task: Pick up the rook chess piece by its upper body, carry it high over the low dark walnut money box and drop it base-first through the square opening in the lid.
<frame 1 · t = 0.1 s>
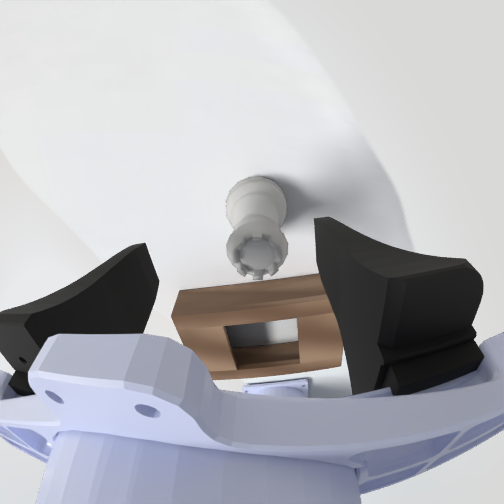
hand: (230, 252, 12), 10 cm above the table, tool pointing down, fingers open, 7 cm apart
walnut money box: (263, 319, 27), on the table
rook chess piece: (256, 202, 22), on the table
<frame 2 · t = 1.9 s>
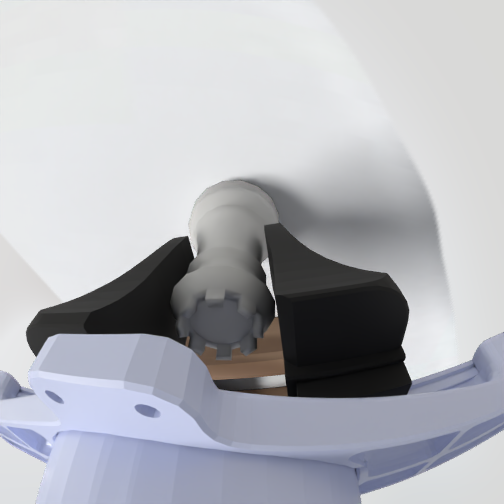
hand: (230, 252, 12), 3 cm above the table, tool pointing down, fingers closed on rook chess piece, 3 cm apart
walnut money box: (250, 363, 21), on the table
rook chess piece: (235, 217, 15), on the table, touching gripper
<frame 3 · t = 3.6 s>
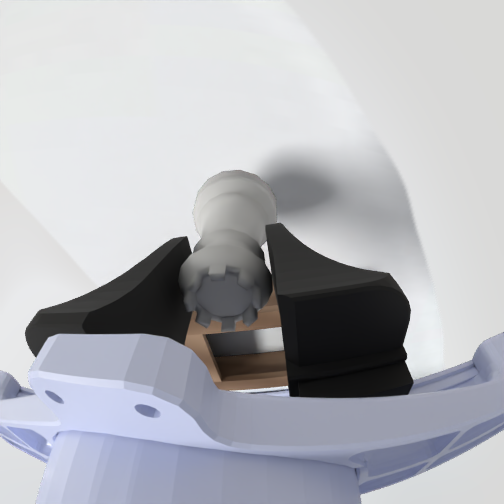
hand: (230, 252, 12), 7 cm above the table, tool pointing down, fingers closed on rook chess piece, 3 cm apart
walnut money box: (251, 326, 24), on the table
rook chess piece: (236, 205, 16), point 3 cm above the table, touching gripper
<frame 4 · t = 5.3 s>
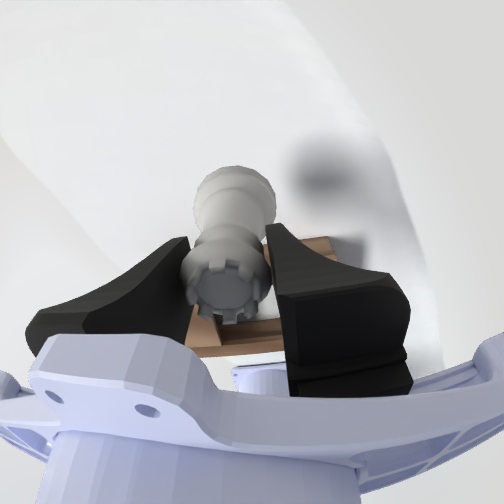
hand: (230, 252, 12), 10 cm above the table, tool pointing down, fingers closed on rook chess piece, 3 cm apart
walnut money box: (250, 291, 26), on the table
rook chess piece: (235, 200, 16), point 5 cm above the table, touching gripper
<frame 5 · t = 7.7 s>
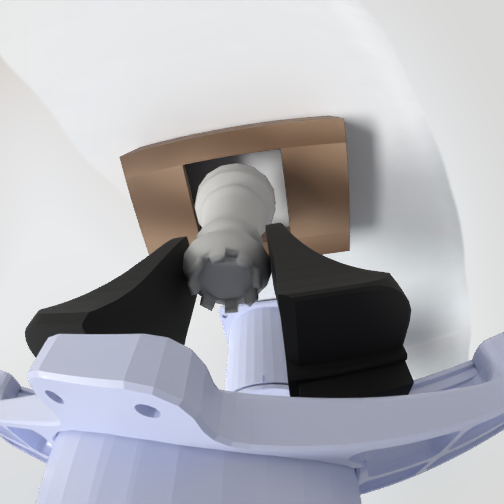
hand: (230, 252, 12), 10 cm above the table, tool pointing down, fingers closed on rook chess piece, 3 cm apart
walnut money box: (241, 186, 21), on the table
rook chess piece: (236, 197, 17), point 5 cm above the table, touching gripper
when the fingers open (5 cm above the table, at t = 9.1 s): rook chess piece stays where it is, resting in walnut money box.
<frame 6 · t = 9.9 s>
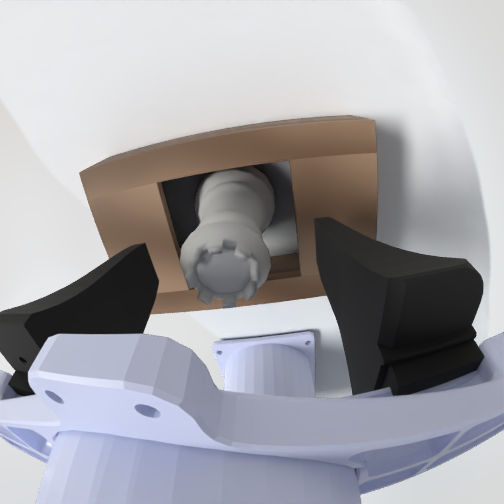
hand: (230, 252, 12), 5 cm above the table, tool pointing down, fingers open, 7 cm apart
walnut money box: (237, 205, 17), on the table
rook chess piece: (235, 197, 17), resting in walnut money box
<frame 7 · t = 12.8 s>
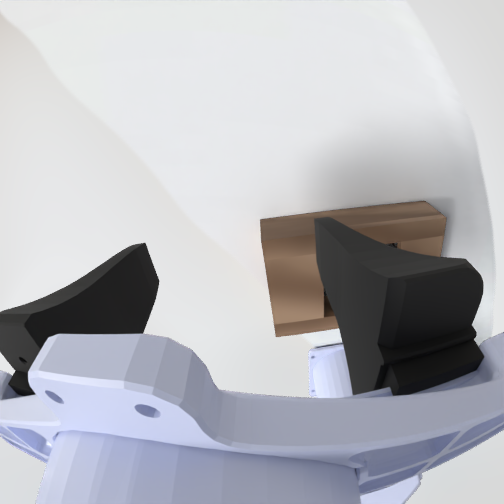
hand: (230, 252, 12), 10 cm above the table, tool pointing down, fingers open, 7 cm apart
walnut money box: (349, 258, 24), on the table
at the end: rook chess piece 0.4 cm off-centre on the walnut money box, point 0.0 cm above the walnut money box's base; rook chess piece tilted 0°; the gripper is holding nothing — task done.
